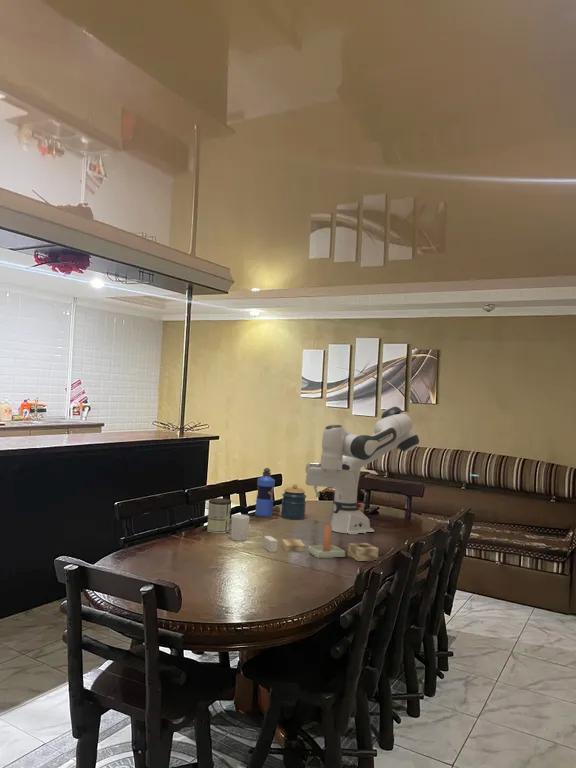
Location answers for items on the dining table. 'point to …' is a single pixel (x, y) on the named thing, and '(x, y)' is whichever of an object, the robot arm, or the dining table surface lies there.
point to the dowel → (327, 538)
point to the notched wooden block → (293, 545)
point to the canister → (293, 503)
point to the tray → (333, 552)
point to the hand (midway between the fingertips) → (329, 498)
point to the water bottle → (265, 494)
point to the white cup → (239, 527)
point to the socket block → (362, 551)
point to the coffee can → (219, 515)
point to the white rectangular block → (270, 544)
